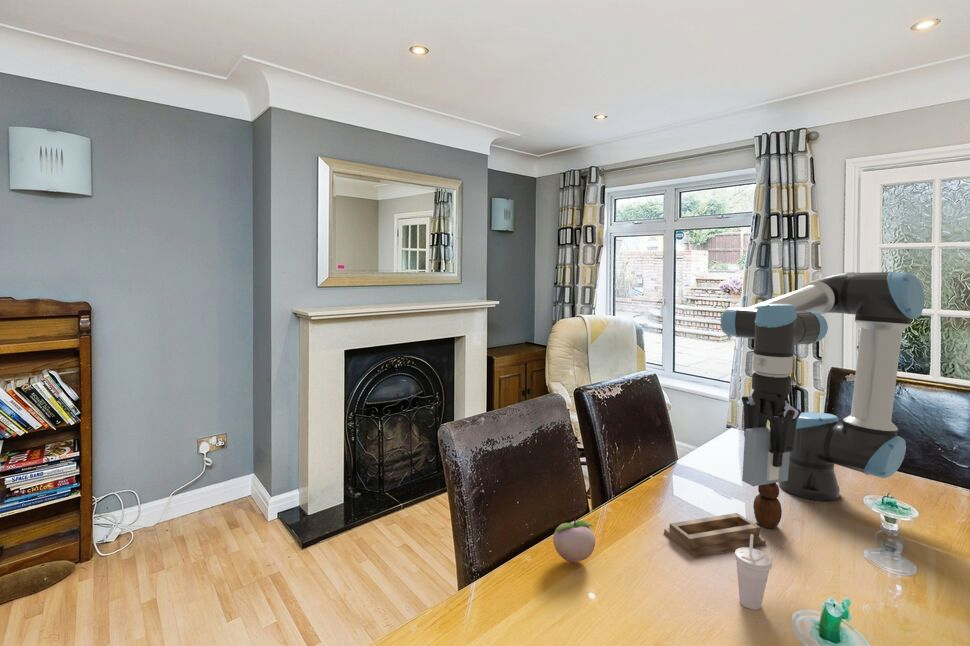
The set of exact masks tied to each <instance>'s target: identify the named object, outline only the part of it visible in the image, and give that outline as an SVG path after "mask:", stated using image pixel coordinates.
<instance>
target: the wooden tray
mask: <svg viewBox="0 0 970 646" xmlns="http://www.w3.org/2000/svg"><path fill="white" fill-rule="evenodd" d="M760 529H761V527H760V525H757V524H756V523H754V522H753V521H751V520H750V519H748V518H746V517H744V516H743V515H741V514H739V513H738V512H734V513H729V514H722V515H715V516H709V517H703V518H696V519H690V520H683V521H676V522H673V523H672V522H671V523H669V527H668V528H664V529H663V533H664V534H665V536H668V538H669V539H671V540H673V542H674V543H676V544H677V545H678V546H680V547H681V548H682V549H684V551H685V552H687V553H688V554H689V555H691V556H692V557H693V558H700V557H707V556H711V555H716V554H722V553H723V554H724V553H729V552H734V551H736V549H738V548H743V547H747V548H749V547H750V534H753V535H754V536H753V548H754V547H755V548H756V547H760V546H764V545H765V546H766V543H767V539H764V538H762V537H761V536H760Z"/></svg>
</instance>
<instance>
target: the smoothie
mask: <svg viewBox="0 0 970 646" xmlns="http://www.w3.org/2000/svg"><path fill="white" fill-rule="evenodd" d="M753 536H754V535H753V534H750V547H749V548H747V547H743V548H738V549H736V550H734V551H735V552H734V556H733V557H734V559H735V562H736V568H737V569H736V573H737V581H738V582H737V583H738V596H739V602H740V604H741V605H742V606H743V607H745V608H747V609H750V610H760V609H761V608H762V606H763V605H762V604H763V600H764V596H765V591H766V586H767V583H768V577H769V573H770V570H771V569H772V568H773V559H772V558H771V556H769V554H767V553H765V552H764V551H762V550H759V549H756V548H754V547H753Z"/></svg>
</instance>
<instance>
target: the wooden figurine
mask: <svg viewBox="0 0 970 646" xmlns="http://www.w3.org/2000/svg"><path fill="white" fill-rule="evenodd" d="M778 485H779V484H777V482H776V483H770V484H764V485H758V486H757V490H758V493H759V494H757V495H756V496H754V501H753V505H752V506H753V514H754V518H755V521H756V522H757V524H758V525H759V526H762V527H763V528H767V529H774V528H777V526H779V523H780V522H781V519H782V513H783V512H782V505H781V502H780V500H779V499H778V498H779V495H780V489H779V488H780V486H778Z"/></svg>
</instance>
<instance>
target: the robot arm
mask: <svg viewBox="0 0 970 646" xmlns="http://www.w3.org/2000/svg"><path fill="white" fill-rule="evenodd" d="M924 308H925V292H924V288H923V285H922V283H921V281H920V279H919V278H918V277H917V276H916V275H914V274H913V273H910V272H908V273H907V272H895V271H889V272H886V271H885V272H882V271H881V272H879V271H878V272H875V271H874V272H853V271H852V272H841V273H836V274H831V275H828V276H824V277H821V278H818V279H815V280H812V281H809V282H807V283H804V284H803V285H802V286H801V287H800V289H797V290H793V291H790V292H788V293H786V294H782V295H779V296H777V297H774V298H771V299H768V300H765V301H761V302H759V303H756V304H753V305H749V306H746V307H739V306H737V307H734V306H731V307H727V308H726V309H725V310H724V311H723V312H722V314H721V317H720V328H721V331H722V332H723V333H724V334H725V335H727V336H731V337H736V338H738V339H739V338H743V339H752V340H753V339H754V348H753V349H754V350H753V361H752V363H753V364H752V370H753V371H754V372H753V373H752V374H751V377H752V378H751V389H753V392H752V394H751V395H744V396H742V397H741V401H742V402H741V403H742V405H743V437H744V438H745V429H750V428H759V427H767V426H768V425H767V423H768V422H769V426H770V434H771V449H772V450H769V451H768V463H767V479H766V480H768V481H771V480H777V479H779V467H781V466H782V459H783V453H785V452H790V456H789V470H788V481H783V482H778V485H779V486H778V487H779V488H781V489H782V490H784V491H785V492H787V493H790V494H792V495H794V496H797V497H799V498H803V499H808V500H812V501H813V500H814V501H820V502H823V501H824V502H831V501H836V500H838V499H840V492H841V491H840V486H839V483H838V480H837V475H836V472H835V465H836V466H841V467H843V468H847V469H850V470H853V471H855V472H856V471H857V472H859V473H862V474H864V475H867V476H873V477H876V478H877V477H878V478H880V479H885V478H889V477H891V476H893V475H894V474H895V473H897V471H898V469H900V466H901V465H902V463H903V461H904V459H905V456H906V450H907V445H906V444H907V442H906V440H905V439H904V438H903V437H901V436H899V435H898V430H899V429H898V427H897V426H896V424H894V423H893V421H892V418H893V409H894V408H893V407H894V401H895V393H896V386H897V385H896V384H897V376H898V369H899V360H900V351H901V345H902V344H901V343H902V336H903V331H905V330H907V328H909V327H911V324H912V320H915V319H918V318H919V317H920V316H921V315H923V310H924ZM830 313H831V314H847V315H855V316H854V323H856V324H857V325H858V326H859V327H860V333H859V340H858V341H859V342H858V349H857V358H856V359H857V360H856V367H855V374H854V375H855V376H854V383H853V384H854V385H853V391H852V401H851V408H850V409H851V410H850V414H848V415H847V416H846V417H844V418H843V420H842V422H839V417H838V416H837V415H834V414H832V413H825V412H814V411H813V412H811V411H810V412H808V411H807V412H806V411H805V412H802V410H800V409H799V408H794V407H793V406H791V404H790V403H791V401H790V399H789V395H790V393H791V392H792V391H791V390H792V381H793V380H792V376H790V375H791V374H793V365H794V351H795V350H794V348H795V347H794V346H798V345H799V346H800V345H810V344H811V345H812V344H814V343H818V342H820V341H822V340H823V339H824V338H825V336H826V334H828V329H829V327H828V325H829V324H828V322H827V319H826V318H825V317H824V314H830Z"/></svg>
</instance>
